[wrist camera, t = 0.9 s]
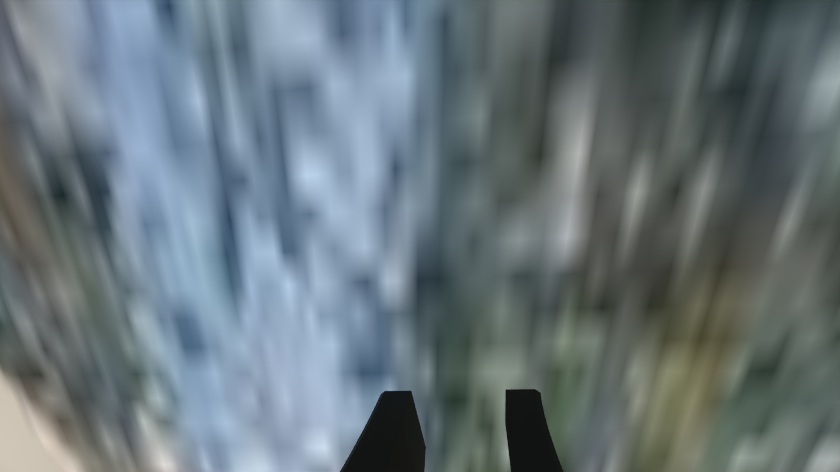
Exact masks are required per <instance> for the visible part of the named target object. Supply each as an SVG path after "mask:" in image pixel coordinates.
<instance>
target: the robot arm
mask: <svg viewBox="0 0 840 472" xmlns="http://www.w3.org/2000/svg"><path fill="white" fill-rule="evenodd" d="M505 423H506V432H507V440H508V449H509V457H510V466H511V472H563V470H562V467H561V465H560V462H559V459H558V456H557V454H556V451H555V448H554V445H553V442H552V439H551V436H550V433H549V429H548V426H547V423H546V419H545V415H544V410H543V406H542V401H541V393H540V392H538V391H537V390H535V389H519V390H506V412H505ZM425 450H426V447H425V443H424V439H423V435H422V431H421V427H420V423H419V419H418V415H417V412H416V408H415V404H414V400H413V396H412V392H411V391H384V392H383V393H382V394H381V395H380V397H379V399H378V401H377V404H376V406H375V408H374V410H373V412H372V414H371V416H370V418H369V420H368V422H367V424H366V426H365V428H364V430H363V432H362V433H361V435H360V437H359V439H358V441H357V443H356V445H355V446H354V448H353V450H352V452H351V454H350V455H349V457H348V459H347V461H346V462H345V464H344V466H343V467H342V469H341V471H340V472H424V467H425Z"/></svg>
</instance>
